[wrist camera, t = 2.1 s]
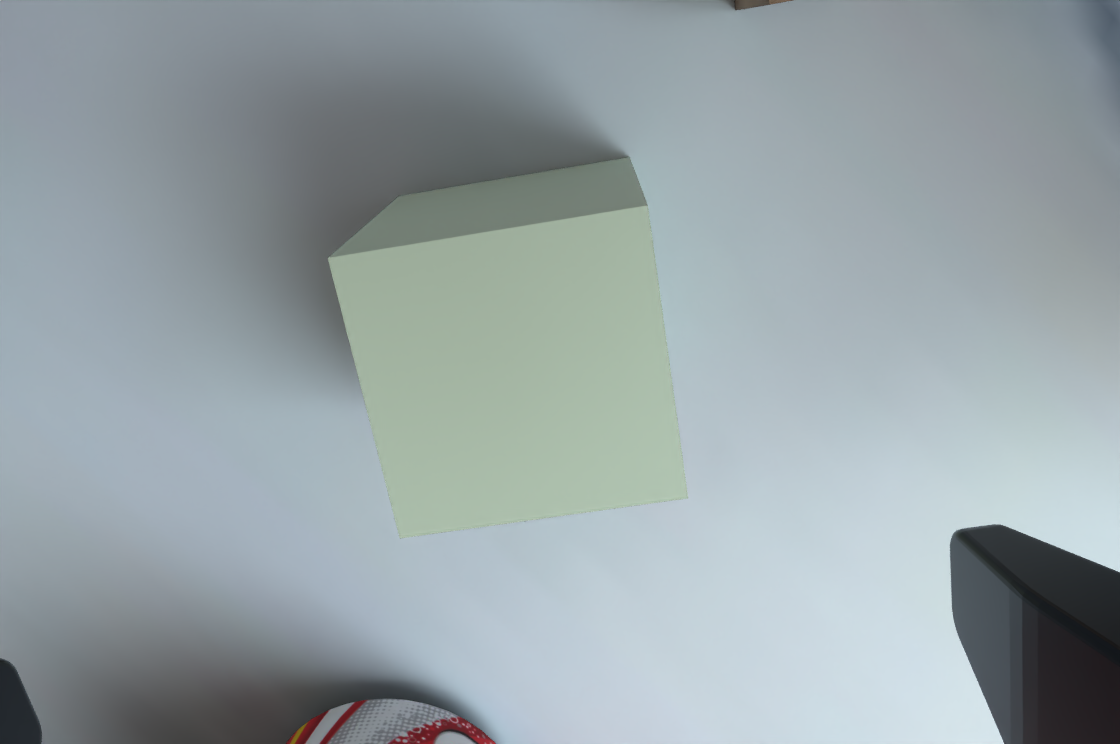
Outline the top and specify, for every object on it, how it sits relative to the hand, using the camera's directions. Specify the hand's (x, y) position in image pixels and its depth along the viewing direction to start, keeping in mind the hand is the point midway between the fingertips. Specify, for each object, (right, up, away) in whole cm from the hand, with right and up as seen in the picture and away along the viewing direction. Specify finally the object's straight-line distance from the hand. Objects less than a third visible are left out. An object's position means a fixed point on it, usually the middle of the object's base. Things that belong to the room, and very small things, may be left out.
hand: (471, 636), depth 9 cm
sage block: (0, +4, +12) cm, 13 cm away
